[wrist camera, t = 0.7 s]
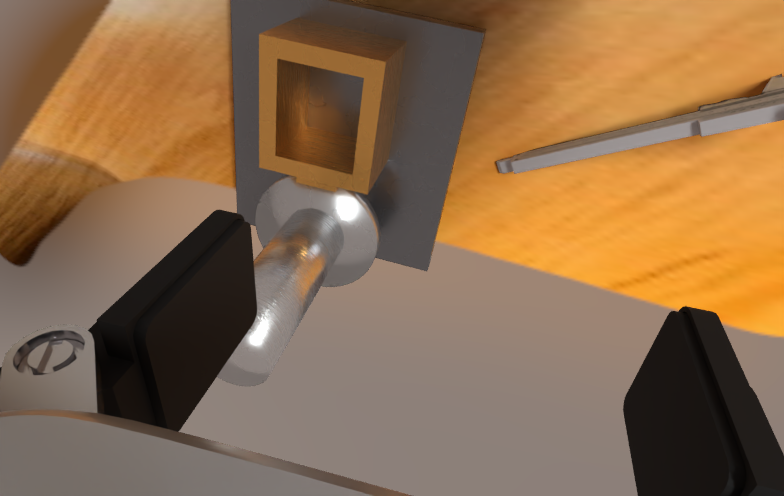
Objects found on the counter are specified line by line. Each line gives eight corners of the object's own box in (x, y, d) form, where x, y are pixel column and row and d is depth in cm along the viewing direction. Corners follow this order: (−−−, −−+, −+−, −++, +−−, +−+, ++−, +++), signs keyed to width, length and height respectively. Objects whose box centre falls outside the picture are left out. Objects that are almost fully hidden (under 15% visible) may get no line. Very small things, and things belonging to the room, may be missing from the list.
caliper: (814, 61, 32) (867, 89, 27) (815, 78, 32) (867, 108, 27) (496, 159, 40) (490, 195, 35) (500, 171, 40) (495, 209, 35)
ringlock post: (240, -23, 37) (14, 26, 21) (485, 29, 35) (443, 126, 19) (245, 222, 49) (104, 371, 33) (428, 270, 47) (372, 453, 31)
